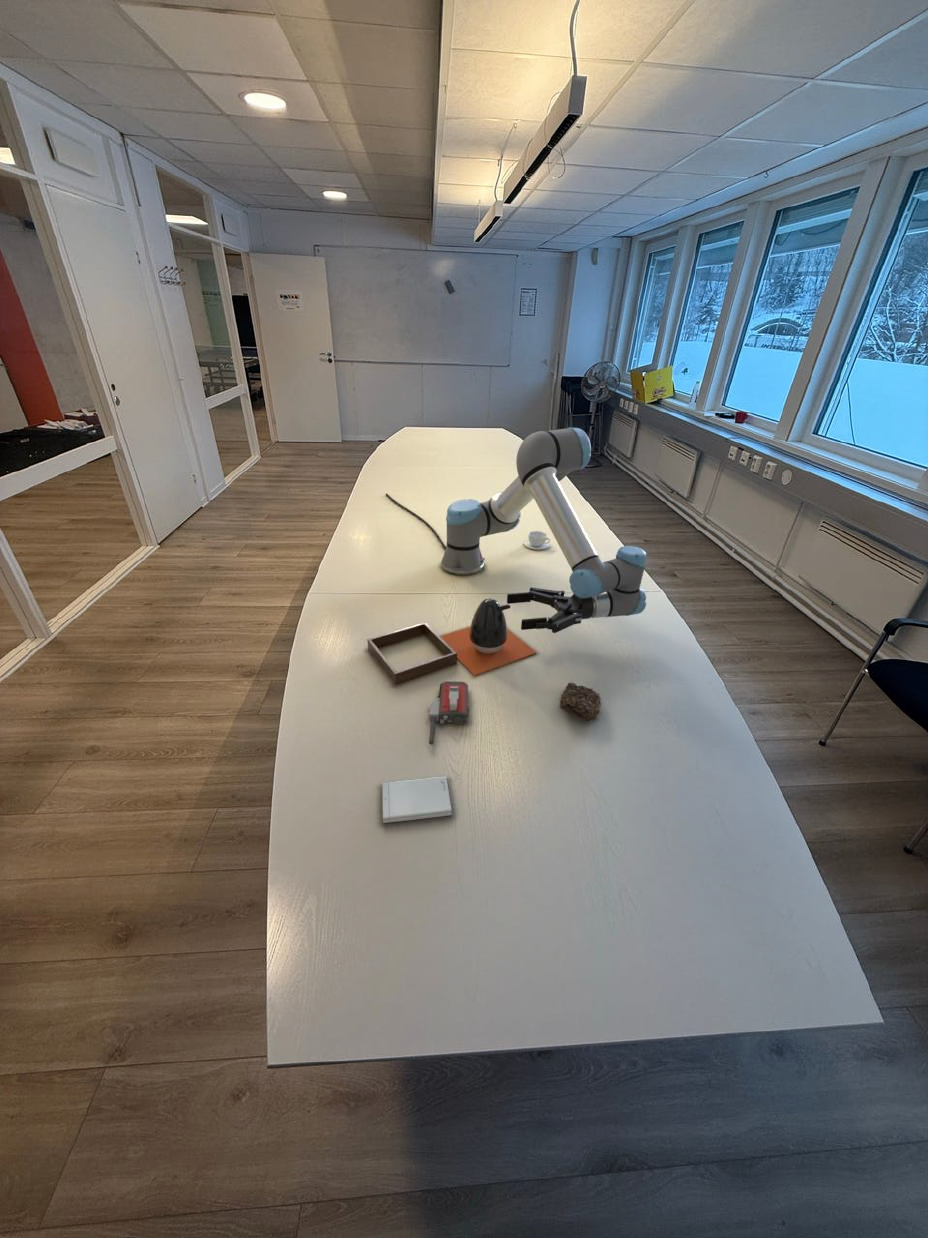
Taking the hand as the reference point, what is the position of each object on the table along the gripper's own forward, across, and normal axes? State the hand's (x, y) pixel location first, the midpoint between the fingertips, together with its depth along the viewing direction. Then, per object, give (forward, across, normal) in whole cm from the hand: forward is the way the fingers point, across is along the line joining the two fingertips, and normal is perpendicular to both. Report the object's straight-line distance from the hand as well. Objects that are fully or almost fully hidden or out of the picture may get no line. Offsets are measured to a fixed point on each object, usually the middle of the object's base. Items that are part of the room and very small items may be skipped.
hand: (514, 611), depth 132 cm
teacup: (-30, +67, -12) cm, 74 cm away
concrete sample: (-9, -27, -12) cm, 31 cm away
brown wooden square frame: (+28, 0, -11) cm, 30 cm away
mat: (+7, +2, -11) cm, 13 cm away
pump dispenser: (+7, 0, -11) cm, 13 cm away
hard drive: (+32, -46, -12) cm, 58 cm away
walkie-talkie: (+22, -25, -12) cm, 35 cm away
